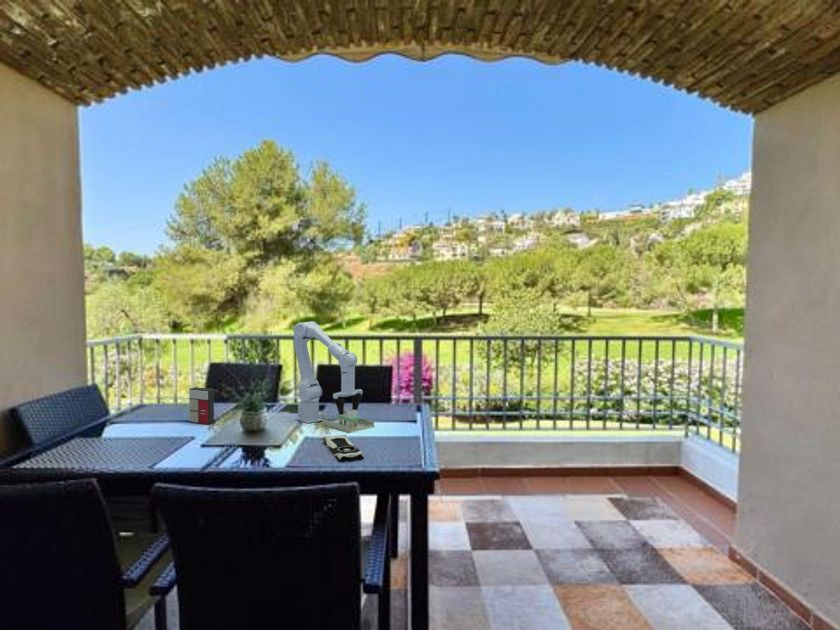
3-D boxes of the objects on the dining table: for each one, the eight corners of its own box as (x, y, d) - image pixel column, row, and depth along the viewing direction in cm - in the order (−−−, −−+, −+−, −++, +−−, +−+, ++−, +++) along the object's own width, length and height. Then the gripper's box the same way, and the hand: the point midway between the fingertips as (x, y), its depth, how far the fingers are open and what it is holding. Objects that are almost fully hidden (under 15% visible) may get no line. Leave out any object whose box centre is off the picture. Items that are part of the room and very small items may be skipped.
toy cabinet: (188, 422, 250) (187, 388, 249) (195, 420, 254) (195, 387, 253) (208, 425, 246) (207, 390, 245) (215, 422, 250) (214, 389, 249)
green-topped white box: (336, 417, 248) (336, 409, 248) (345, 415, 252) (345, 407, 251) (351, 421, 241) (351, 413, 241) (360, 419, 245) (360, 411, 244)
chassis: (322, 425, 248) (322, 417, 248) (347, 419, 258) (347, 412, 258) (348, 433, 235) (348, 425, 235) (374, 426, 245) (374, 419, 245)
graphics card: (345, 433, 224) (364, 451, 201) (345, 442, 224) (364, 461, 201) (320, 436, 220) (336, 455, 197) (320, 445, 220) (336, 464, 197)
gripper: (340, 385, 237) (340, 417, 238) (367, 380, 248) (366, 411, 249) (330, 382, 242) (330, 414, 243) (356, 378, 253) (356, 408, 254)
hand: (348, 412), depth 246 cm, fingers open, 7 cm apart
